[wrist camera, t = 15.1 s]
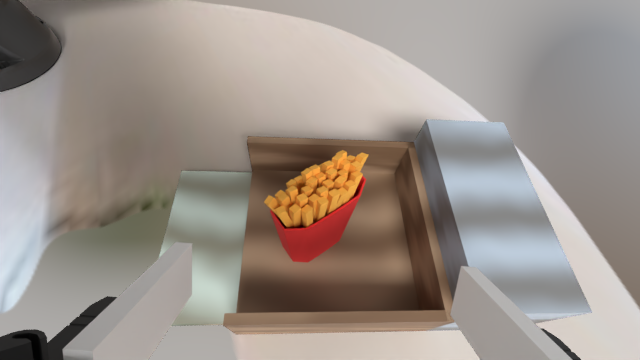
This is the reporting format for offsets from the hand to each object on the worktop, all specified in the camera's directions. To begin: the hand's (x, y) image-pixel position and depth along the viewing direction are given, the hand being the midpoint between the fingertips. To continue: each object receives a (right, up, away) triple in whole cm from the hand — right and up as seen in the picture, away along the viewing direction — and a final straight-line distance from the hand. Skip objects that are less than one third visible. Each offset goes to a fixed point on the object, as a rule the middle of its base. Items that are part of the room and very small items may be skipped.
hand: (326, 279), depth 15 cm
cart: (+1, -2, +18) cm, 18 cm away
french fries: (-1, -1, +16) cm, 17 cm away
